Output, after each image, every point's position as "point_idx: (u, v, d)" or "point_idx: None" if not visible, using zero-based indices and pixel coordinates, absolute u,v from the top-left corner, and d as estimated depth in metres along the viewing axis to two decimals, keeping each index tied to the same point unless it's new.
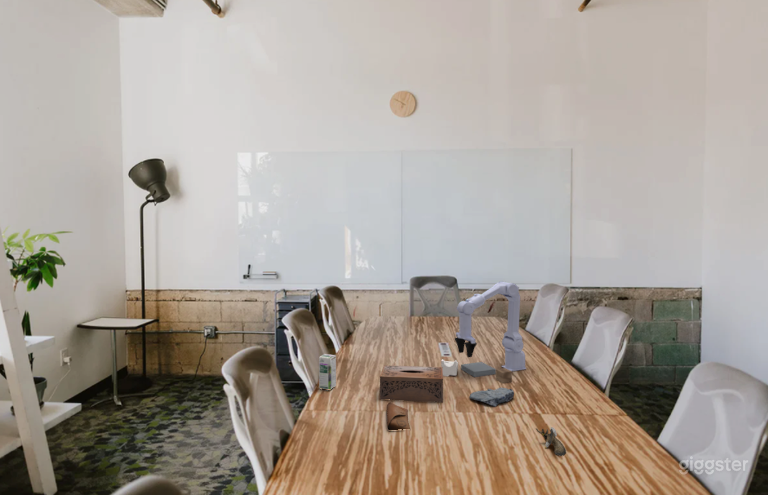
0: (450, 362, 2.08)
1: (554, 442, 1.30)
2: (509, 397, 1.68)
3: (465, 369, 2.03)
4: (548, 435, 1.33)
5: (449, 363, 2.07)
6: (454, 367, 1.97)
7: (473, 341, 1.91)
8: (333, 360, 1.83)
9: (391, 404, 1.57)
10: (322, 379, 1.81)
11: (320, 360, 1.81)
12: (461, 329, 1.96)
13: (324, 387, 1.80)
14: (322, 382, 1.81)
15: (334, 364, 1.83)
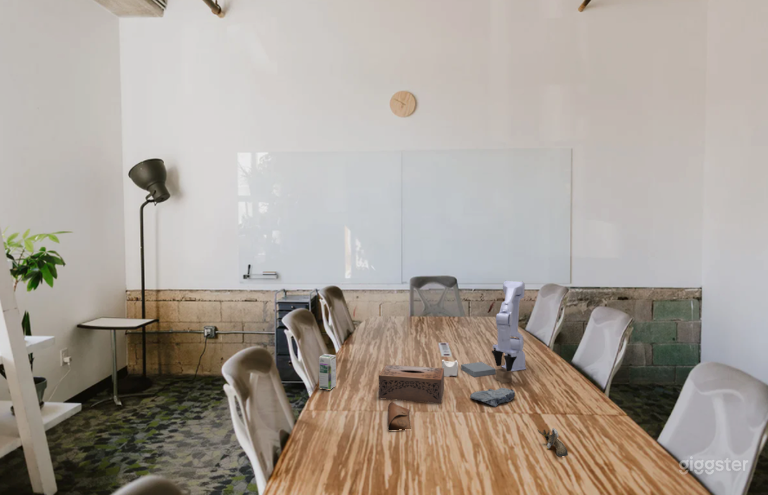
0: (450, 362, 2.08)
1: (556, 443, 1.30)
2: (510, 397, 1.67)
3: (465, 369, 2.03)
4: (550, 436, 1.32)
5: (449, 363, 2.06)
6: (455, 367, 1.96)
7: (513, 354, 1.84)
8: (333, 360, 1.83)
9: (393, 404, 1.57)
10: (322, 379, 1.81)
11: (320, 360, 1.81)
12: (500, 341, 1.89)
13: (324, 387, 1.80)
14: (322, 382, 1.81)
15: (334, 364, 1.83)
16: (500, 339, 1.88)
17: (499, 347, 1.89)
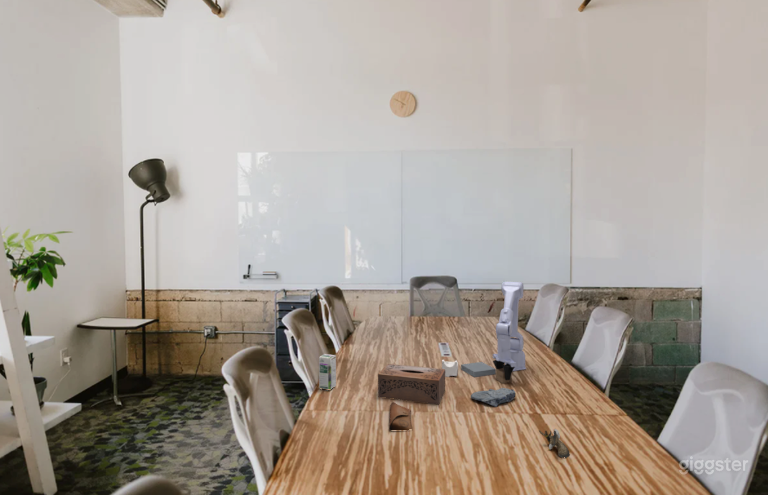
0: (450, 362, 2.08)
1: (557, 444, 1.29)
2: (510, 397, 1.67)
3: (465, 369, 2.03)
4: (551, 437, 1.32)
5: (449, 363, 2.06)
6: (455, 367, 1.96)
7: (513, 364, 1.84)
8: (333, 360, 1.83)
9: (394, 404, 1.57)
10: (322, 379, 1.81)
11: (320, 360, 1.81)
12: (500, 351, 1.89)
13: (324, 387, 1.80)
14: (322, 382, 1.81)
15: (334, 364, 1.83)
16: (500, 349, 1.89)
17: (499, 357, 1.89)
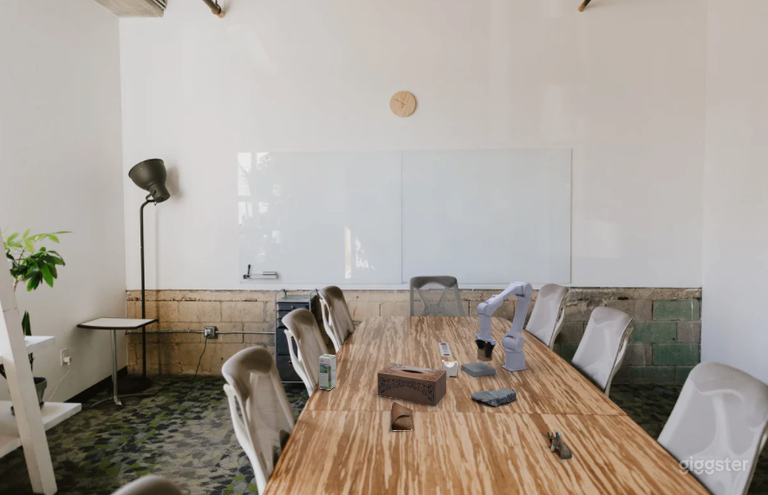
0: (450, 363, 2.07)
1: (560, 445, 1.28)
2: (511, 398, 1.67)
3: (465, 369, 2.03)
4: (553, 438, 1.31)
5: (449, 364, 2.06)
6: (454, 368, 1.96)
7: (494, 342, 1.93)
8: (333, 360, 1.83)
9: (396, 404, 1.57)
10: (322, 379, 1.81)
11: (320, 360, 1.81)
12: (481, 330, 1.98)
13: (324, 387, 1.80)
14: (322, 382, 1.81)
15: (334, 364, 1.83)
16: (479, 327, 1.99)
17: (480, 336, 1.98)
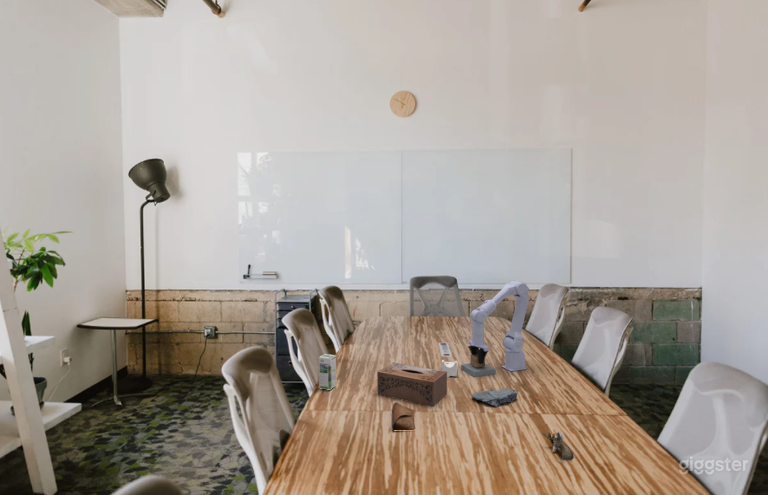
0: (450, 363, 2.07)
1: (561, 446, 1.28)
2: (511, 398, 1.67)
3: (465, 369, 2.03)
4: (555, 439, 1.30)
5: (449, 364, 2.05)
6: (454, 368, 1.95)
7: (486, 349, 1.96)
8: (333, 360, 1.83)
9: (397, 404, 1.57)
10: (322, 379, 1.81)
11: (320, 360, 1.81)
12: (474, 337, 2.01)
13: (324, 387, 1.80)
14: (322, 382, 1.81)
15: (334, 364, 1.83)
16: (472, 333, 2.03)
17: (473, 342, 2.02)
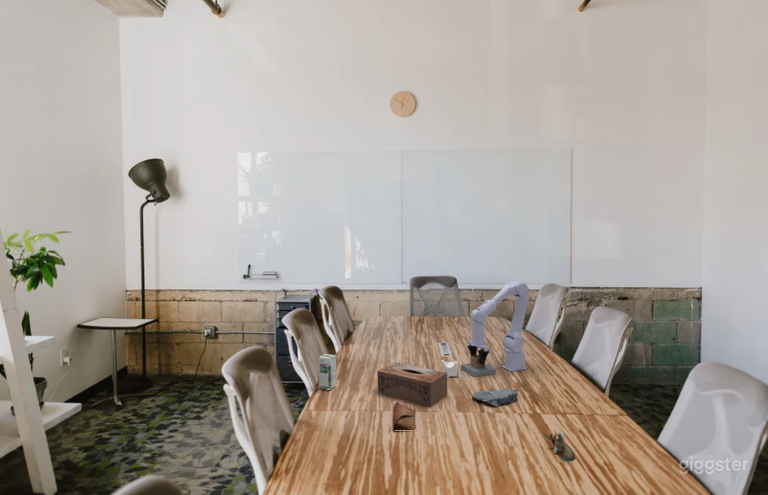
0: (450, 363, 2.07)
1: (563, 447, 1.27)
2: (512, 398, 1.67)
3: (465, 369, 2.03)
4: (556, 440, 1.30)
5: (449, 364, 2.05)
6: (454, 368, 1.95)
7: (486, 349, 1.96)
8: (333, 360, 1.83)
9: (398, 404, 1.57)
10: (322, 379, 1.81)
11: (320, 360, 1.81)
12: (474, 337, 2.01)
13: (324, 387, 1.80)
14: (322, 382, 1.81)
15: (334, 364, 1.83)
16: (472, 333, 2.03)
17: (473, 342, 2.02)
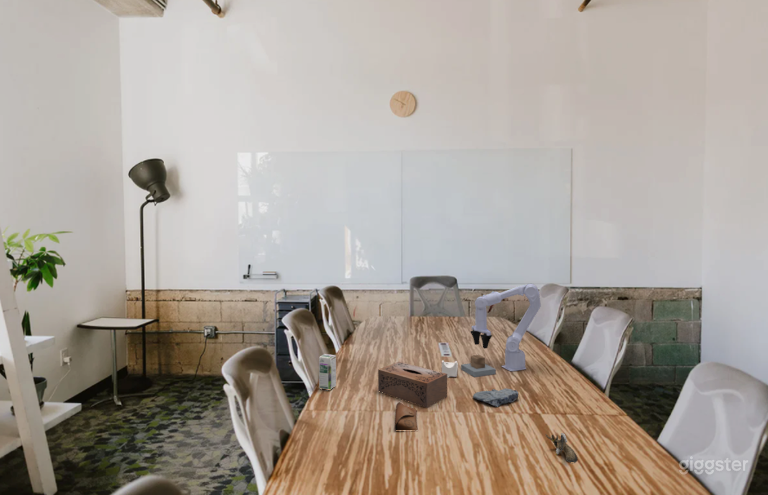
0: (450, 363, 2.06)
1: (565, 448, 1.27)
2: (513, 398, 1.67)
3: (465, 369, 2.03)
4: (558, 441, 1.29)
5: (449, 364, 2.05)
6: (454, 368, 1.95)
7: (489, 333, 2.06)
8: (333, 360, 1.83)
9: (400, 404, 1.57)
10: (322, 379, 1.81)
11: (320, 360, 1.81)
12: (477, 322, 2.11)
13: (324, 387, 1.80)
14: (322, 382, 1.81)
15: (334, 364, 1.83)
16: None
17: (476, 327, 2.11)
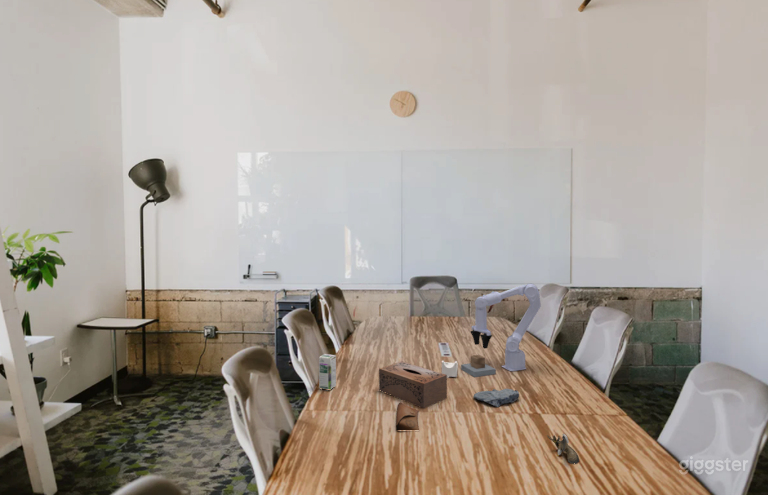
0: (450, 363, 2.06)
1: (567, 449, 1.26)
2: (513, 398, 1.66)
3: (465, 369, 2.03)
4: (560, 442, 1.28)
5: (449, 364, 2.05)
6: (454, 368, 1.95)
7: (489, 333, 2.06)
8: (333, 360, 1.83)
9: (401, 404, 1.57)
10: (322, 379, 1.81)
11: (320, 360, 1.81)
12: (477, 322, 2.11)
13: (324, 387, 1.80)
14: (322, 382, 1.81)
15: (334, 364, 1.83)
16: None
17: (476, 327, 2.11)
